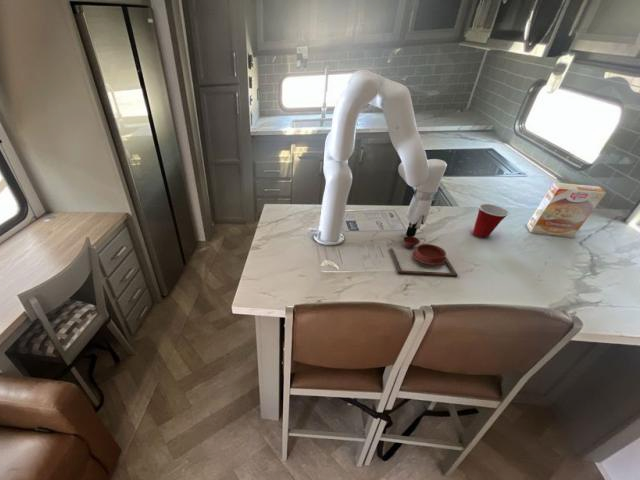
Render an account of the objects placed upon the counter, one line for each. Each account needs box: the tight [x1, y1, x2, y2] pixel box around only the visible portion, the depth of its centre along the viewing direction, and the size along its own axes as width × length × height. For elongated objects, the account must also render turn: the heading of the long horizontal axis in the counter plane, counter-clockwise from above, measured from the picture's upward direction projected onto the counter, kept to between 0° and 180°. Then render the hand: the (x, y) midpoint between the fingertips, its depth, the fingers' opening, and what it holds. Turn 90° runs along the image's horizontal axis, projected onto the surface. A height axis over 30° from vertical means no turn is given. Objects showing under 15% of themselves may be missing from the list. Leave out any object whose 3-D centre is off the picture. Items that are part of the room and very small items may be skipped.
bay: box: [389, 247, 458, 278], centre depth 122 cm, size 20×16×1 cm
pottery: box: [402, 236, 447, 266], centre depth 125 cm, size 12×20×4 cm, turn 15°
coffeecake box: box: [526, 181, 607, 238], centre depth 130 cm, size 15×7×20 cm, turn 68°
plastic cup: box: [472, 203, 510, 239], centre depth 132 cm, size 11×11×12 cm
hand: (409, 235), depth 135 cm, fingers closed
